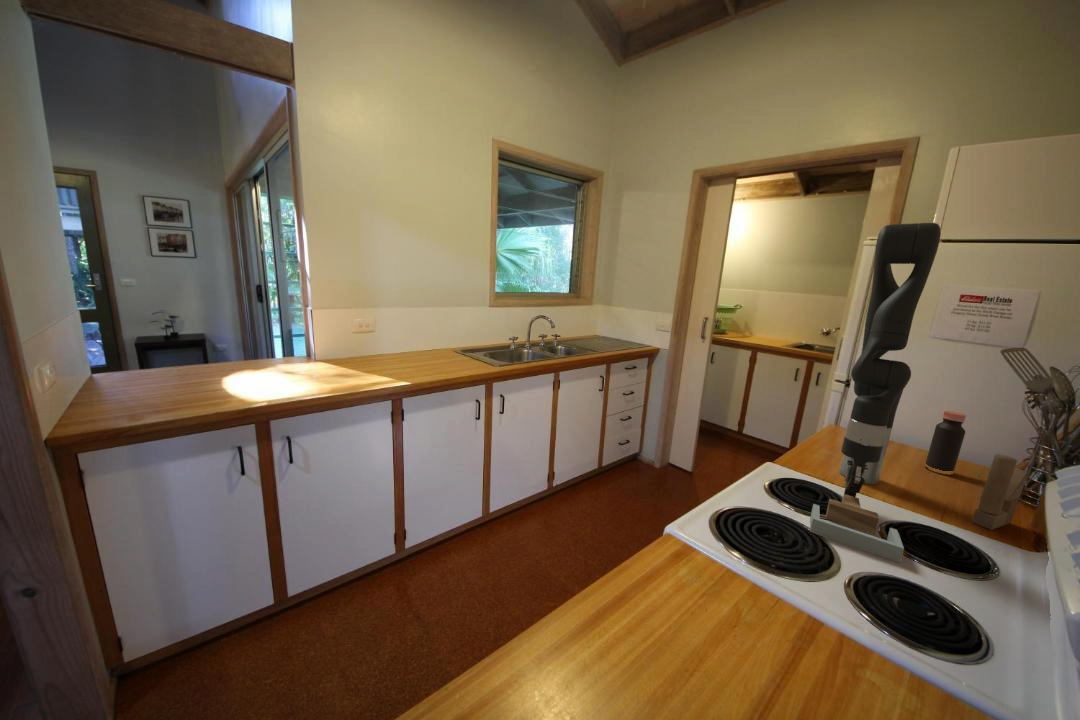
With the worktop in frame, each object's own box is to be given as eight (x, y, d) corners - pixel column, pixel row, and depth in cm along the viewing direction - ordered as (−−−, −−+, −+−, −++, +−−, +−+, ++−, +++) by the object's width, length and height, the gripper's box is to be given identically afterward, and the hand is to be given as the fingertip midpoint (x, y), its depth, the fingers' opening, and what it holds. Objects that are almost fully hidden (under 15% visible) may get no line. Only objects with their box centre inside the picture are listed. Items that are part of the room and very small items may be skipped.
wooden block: (1011, 524, 101) (1033, 457, 97) (991, 531, 96) (1013, 461, 93) (990, 516, 104) (1011, 450, 101) (970, 522, 100) (991, 454, 96)
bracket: (810, 516, 95) (813, 503, 95) (893, 543, 87) (897, 529, 87) (810, 531, 89) (813, 518, 88) (900, 562, 80) (904, 548, 80)
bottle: (927, 471, 131) (944, 412, 127) (921, 464, 137) (937, 408, 133) (956, 478, 127) (973, 418, 124) (948, 470, 133) (965, 413, 130)
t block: (825, 504, 102) (829, 489, 101) (870, 517, 97) (874, 502, 97) (826, 519, 95) (829, 503, 94) (874, 534, 90) (878, 518, 89)
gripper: (843, 428, 106) (829, 488, 109) (846, 442, 95) (830, 508, 98) (880, 436, 101) (864, 498, 105) (887, 451, 91) (869, 520, 94)
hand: (847, 503), depth 101 cm, fingers closed
